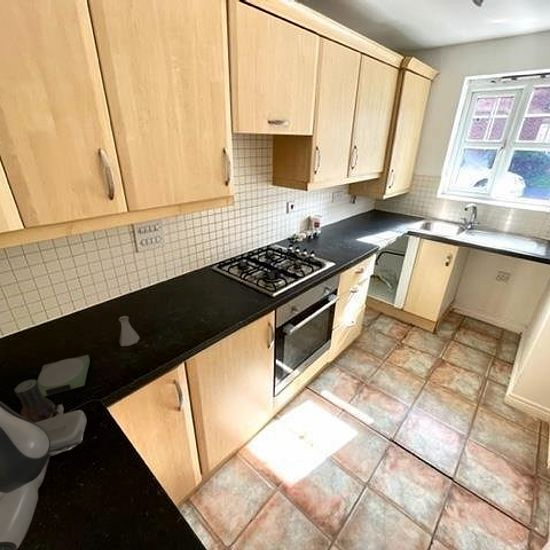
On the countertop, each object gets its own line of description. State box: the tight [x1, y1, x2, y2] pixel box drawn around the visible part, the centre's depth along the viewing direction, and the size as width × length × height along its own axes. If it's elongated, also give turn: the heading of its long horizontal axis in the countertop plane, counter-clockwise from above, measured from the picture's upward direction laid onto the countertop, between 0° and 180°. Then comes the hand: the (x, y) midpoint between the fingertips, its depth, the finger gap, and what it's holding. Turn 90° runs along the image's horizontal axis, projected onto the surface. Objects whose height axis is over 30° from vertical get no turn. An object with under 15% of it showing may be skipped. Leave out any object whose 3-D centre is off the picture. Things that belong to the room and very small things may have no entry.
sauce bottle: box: [13, 379, 56, 423], centre depth 71 cm, size 6×6×20 cm
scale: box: [36, 354, 91, 397], centre depth 96 cm, size 13×14×3 cm
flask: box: [118, 315, 140, 347], centre depth 112 cm, size 7×7×10 cm
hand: (40, 412), depth 71 cm, fingers closed on sauce bottle, 6 cm apart
